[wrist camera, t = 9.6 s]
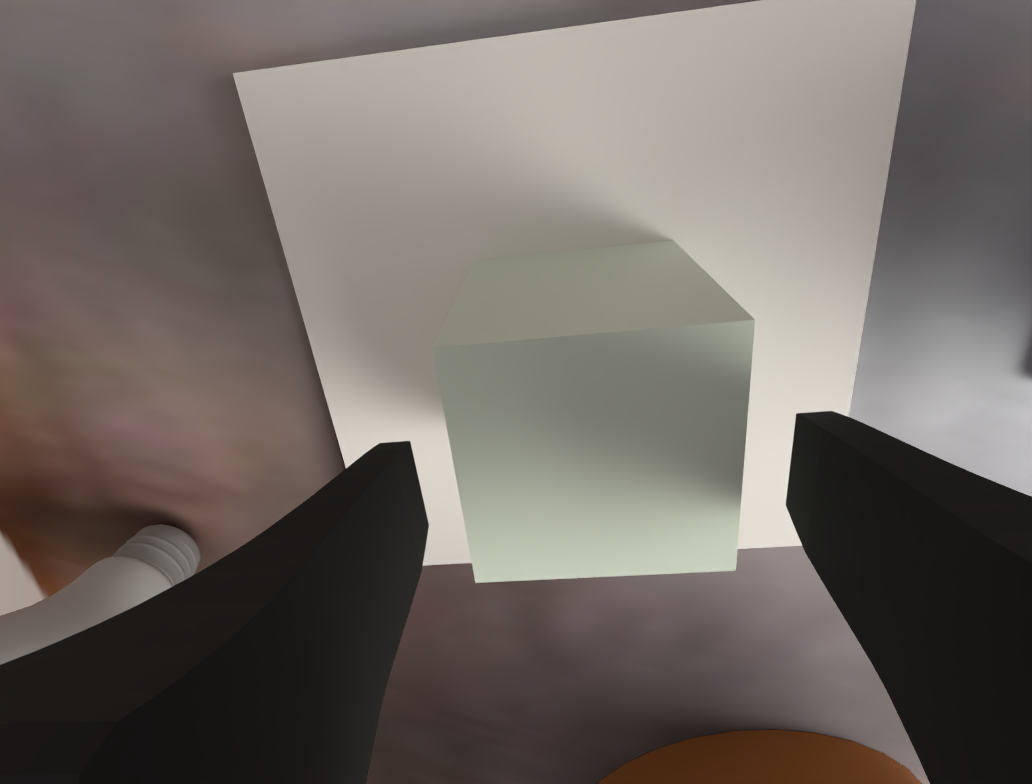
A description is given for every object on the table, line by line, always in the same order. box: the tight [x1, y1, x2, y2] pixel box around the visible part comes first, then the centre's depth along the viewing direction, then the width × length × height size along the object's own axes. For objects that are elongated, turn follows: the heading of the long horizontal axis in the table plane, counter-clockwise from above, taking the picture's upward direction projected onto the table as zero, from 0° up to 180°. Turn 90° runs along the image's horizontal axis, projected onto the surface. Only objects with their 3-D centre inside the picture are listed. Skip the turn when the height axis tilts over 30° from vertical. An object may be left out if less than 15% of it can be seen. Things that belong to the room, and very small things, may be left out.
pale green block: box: [432, 240, 755, 583], centre depth 14 cm, size 5×5×7 cm
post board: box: [233, 0, 916, 565], centre depth 15 cm, size 16×16×6 cm
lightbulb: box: [0, 524, 200, 665], centre depth 17 cm, size 6×6×11 cm
